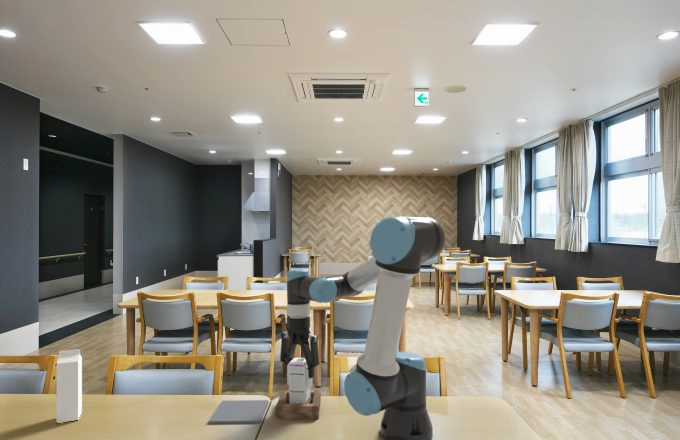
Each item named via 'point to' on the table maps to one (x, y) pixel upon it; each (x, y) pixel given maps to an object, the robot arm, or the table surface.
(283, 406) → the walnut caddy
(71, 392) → the milk
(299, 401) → the syrup box
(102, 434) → the table surface
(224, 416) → the charcoal mat
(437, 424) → the table surface
